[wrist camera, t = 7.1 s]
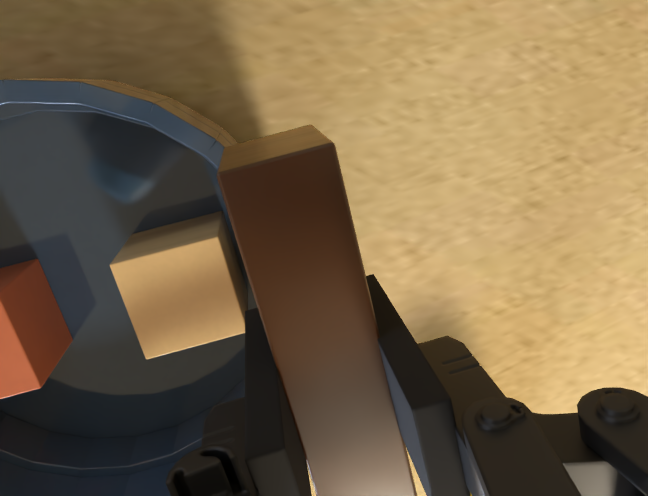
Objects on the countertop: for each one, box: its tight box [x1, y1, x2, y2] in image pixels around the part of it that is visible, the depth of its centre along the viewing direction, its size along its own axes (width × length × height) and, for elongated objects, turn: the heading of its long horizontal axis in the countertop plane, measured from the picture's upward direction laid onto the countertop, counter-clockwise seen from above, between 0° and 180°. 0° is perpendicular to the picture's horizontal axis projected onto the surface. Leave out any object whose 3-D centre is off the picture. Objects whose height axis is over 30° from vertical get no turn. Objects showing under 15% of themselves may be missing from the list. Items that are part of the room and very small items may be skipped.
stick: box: [217, 125, 417, 496], centre depth 15 cm, size 12×2×4 cm, turn 14°
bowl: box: [0, 78, 257, 496], centre depth 25 cm, size 20×20×6 cm
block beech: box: [110, 211, 248, 359], centre depth 25 cm, size 4×4×4 cm
